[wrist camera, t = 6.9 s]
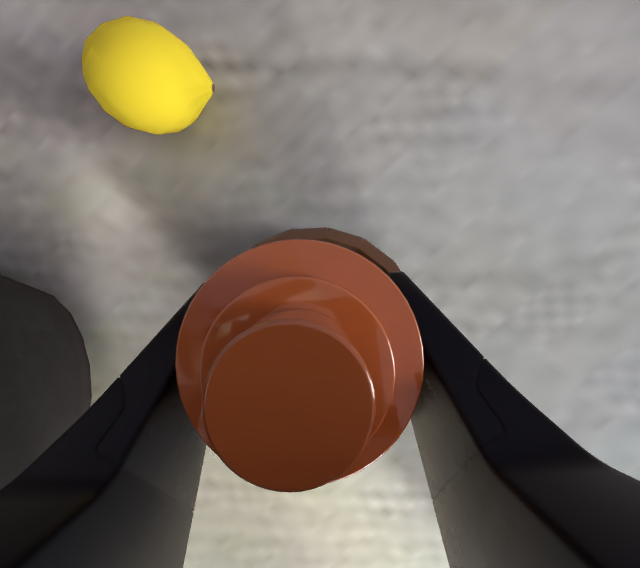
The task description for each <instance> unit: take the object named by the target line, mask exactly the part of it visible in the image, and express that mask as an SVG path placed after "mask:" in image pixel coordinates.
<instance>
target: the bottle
mask: <svg viewBox="0 0 640 568" xmlns="http://www.w3.org/2000/svg"><path fill="white" fill-rule="evenodd" d="M175 367H176V378H177V385H178V389H179V393H180V398H181V400H182V403H183V406H184V409H185V411H186V414H187V415H188V417H189V419H190V421H191V423H192V425H193V427H194V428H195V430H196V431H197V433H198V434H199V435H200V437H201V438H202V440H203V441H204V442H205V443H206V444H207V445H208V446H209V447H210V448H211V450H212V451H213V452H214V453H216V454H217V455H218V456H219V457H220V459H221V460H222V461H223V462H224V463H225V465H226V466H227V467H228V468H229V469H230V470H232V471H233V472H234V473H235V474H236V475H238V476H239V477H241V478H242V479H244V480H245V481H247V482H249V483H251V484H254V485H256V486H258V487H261V488H264V489H267V490H273V491H278V492H301V491H306V490H311V489H314V488H317V487H320V486H323V485H325V484H327V483H330V482H334V481H337V480H340V479H343V478H346V477H349V476H351V475H353V474H355V473H357V472H359V471H361V470H363V469H364V468H366V467H367V466H369V465H370V464H372V463H373V462H375V461H376V460H377V459H378V458H379V457H381V456H382V455H383V454H384V453H385V452H386V451H387V450H388V449H389V448H390V447H391V446H392V445H393V444H394V443H395V441H396V440H397V439H398V438H399V436H400V435H401V433H402V432H403V430H404V429H405V428H406V426H407V424H408V422H409V420H410V418H411V416H412V414H413V412H414V410H415V407H416V404H417V402H418V399H419V396H420V391H421V386H422V381H423V371H424V355H423V344H422V339H421V334H420V330H419V327H418V324H417V321H416V318H415V315H414V313H413V311H412V309H411V307H410V305H409V303H408V301H407V300H406V298H405V297H404V295H403V294H402V292H401V291H400V289H399V288H398V287H397V286H396V284H395V283H394V282H393V281H392V280H391V279H390V278H389V277H388V275H387V274H385V273H384V272H383V271H382V270H381V269H380V268H378V267H377V266H376V265H375V264H374V263H372V262H371V261H369V260H367V259H366V258H364V257H363V256H361V255H359V254H357V253H355V252H353V251H351V250H349V249H347V248H344V247H341V246H338V245H335V244H332V243H328V242H323V241H317V240H306V239H292V240H281V241H276V242H271V243H266V244H263V245H260V246H258V247H255V248H252V249H249V250H247V251H245V252H243V253H242V254H240V255H238V256H236V257H234V258H233V259H231V260H230V261H228V262H227V263H225V264H224V265H223V266H221V267H220V268H219V269H218V270H217V271H216V272H215V273H214V274H212V275H211V276H210V277H209V279H208V280H207V281H206V282H205V283H204V284H203V286H202V287H201V288H200V289H199V291H198V292H197V294H196V295H195V297H194V298H193V300H192V302H191V303H190V305H189V307H188V310H187V312H186V314H185V316H184V318H183V322H182V325H181V328H180V331H179V335H178V341H177V347H176V363H175Z"/></svg>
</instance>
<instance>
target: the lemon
mask: <svg viewBox="0 0 640 568" xmlns="http://www.w3.org/2000/svg"><path fill="white" fill-rule="evenodd" d="M81 59H82V65H83V76H84V79H85V81H86V84H87V86H88V88H89V91H90V92H91V94H92V95H93V96H94V97H95V98H96V100H97V101H98V102H99V104H100V105H101V107H102V108H103V110H105V111H106V112H107V113H108V114H110V115H111V116H113V117H114V118H115V119H117V120H118V121H119V122H120V123H122V124H123V125H124V126H127V127H130V128H133V129H137V130H141V131H145V132H149V133H153V134H157V135H160V134H167V133H174V132H180V131H181V130H183V129H185V128H186V127H188V126H189V125H191V124H192V123H194V122H195V121H196V120H197V118H198V116H199V115H200V113H201V111H202V110H203V108H204V107H205V105H206V103H207V102H208V100H209V99H210V97H211V96H212V94H213V93H214V84H213V82H212V81H211V79H210V77H209V76H208V74H207V73H206V71H205V69H204V68H203V66H202V65H201V63H200V62H199V61H198V59H197V58H196V56H195V55H194V54H193V52H192V51H191V49H190V48H189V47H188V46H187V45H186V44H185V43H183V42H182V41H181V40H180V39H178V38H177V37H176V36H174V35H173V34H172V33H170V32H169V31H168V30H167V29H165V28H164V27H162V26H161V25H159V24H157V23H156V22H152V21H148V20H144V19H139V18H135V17H130V16H125V17H122V18H118V19H115V20H112V21H109V22H105V23H102V24H101V25H100V26H99V27H98V28H97V29H96V30H95V31H94V32H93V33H92V34H91V35H90V36H89V37H88V38H87V39H86V40H85V44H84V49H83V53H82V58H81Z"/></svg>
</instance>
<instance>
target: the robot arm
mask: <svg viewBox="0 0 640 568" xmlns="http://www.w3.org/2000/svg"><path fill="white" fill-rule="evenodd" d="M388 277H389V278H390V279H391V280H392V281H393V282H394V283H395V284H396V286H397V287H398V288H399V289H400V291H401V292H402V294H403V295H404V297H405V298H406V300H407V301H408V303H409V305H410V307H411V309H412V311H413V313H414V315H415V318H416V321H417V324H418V327H419V330H420V334H421V339H422V344H423V355H424V371H423V381H422V386H421V391H420V396H419V399H418V402H417V404H416V407H415V410H414V412H413V414H412V416H411V421H412V425H413V429H414V433H415V437H416V440H417V444H418V448H419V452H420V456H421V459H422V463H423V467H424V471H425V475H426V478H427V482H428V486H429V490H430V494H431V497H432V499H433V505H434V509H435V513H436V517H437V521H438V524H439V528H440V532H441V536H442V539H443V543H444V547H445V551H446V555H447V558H448V562H449V566H450V568H640V481H639V480H636V479H634V478H632V477H630V476H628V475H626V474H624V473H622V472H620V471H618V470H616V469H614V468H612V467H610V466H608V465H607V464H605V463H603V462H602V461H600V460H599V459H597V458H596V457H594V456H593V455H591V454H590V453H589V452H587V451H586V450H585V449H583V448H582V447H581V446H580V445H579V444H577V443H576V442H575V441H574V440H573V439H572V438H570V437H569V436H568V435H567V434H566V433H565V432H564V431H562V430H561V429H560V428H559V427H558V426H557V425H556V424H555V423H553V422H552V421H551V420H550V419H549V418H548V417H547V416H545V415H544V414H543V413H542V412H541V411H540V410H539V409H537V408H536V407H535V406H534V405H533V404H532V403H531V402H529V401H528V400H527V399H526V398H525V397H524V396H523V395H522V394H521V393H520V392H519V391H517V390H516V389H515V388H514V387H513V386H512V385H511V384H510V383H509V382H508V381H507V380H506V379H505V378H504V377H503V376H502V375H501V374H500V373H499V372H498V371H497V370H496V369H495V368H494V367H493V366H492V365H491V364H490V363H489V362H488V360H487V359H483V358H484V357H483V355H482V354H481V353H480V352H479V351H478V350H477V349H476V348H475V347H474V346H473V345H472V344H471V343H470V342H469V341H468V340H467V338H466V337H465V336H464V335H463V334H462V333H461V332H460V331H459V330H458V329H457V328H456V327H455V326H454V325H453V324H452V323H451V322H450V321H449V320H448V318H447V317H446V316H445V315H444V314H443V313H442V312H441V311H440V310H439V309H438V308H437V307H436V306H435V305H434V304H433V303H432V302H431V301H430V299H429V298H428V297H427V296H426V295H425V294H424V293H423V292H422V291H421V290H420V289H419V288H418V287H417V286H416V285H415V284H414V283H413V282H412V281H411V279H410V278H409V277H408V276H407V275H406V274H405V273H404V272H402V271H397V272H389V273H388ZM204 283H205V282H204ZM204 283H203V284H204ZM203 284H202V285H201V286H200V287H199V288H198V290H197V291H196V292H195V293H194V294H193V295H192V296H191V297H190V298H189V300H188V301H187V302H186V303H185V304H184V305H183V306H182V307H181V308H180V309H179V311H178V312H177V313H176V314H175V315H174V316H173V317H172V318H171V319H170V321H169V322H168V323H167V324H166V325H165V326H164V327H163V328H162V329H161V331H160V332H159V333H158V334H157V335H156V336H155V337H154V338H153V339H152V340H151V342H150V343H149V344H148V345H147V346H146V347H145V348H144V349H143V350H142V352H141V353H140V354H139V355H138V356H137V357H136V358H135V359H134V360H133V362H132V363H131V364H130V365H129V366H128V367H127V368H126V369H125V370H124V372H123V373H122V374H121V375H120V378H117V379H116V380H115V381H114V382H113V384H112V385H111V386H110V387H109V388H108V389H107V390H106V391H105V392H104V393H103V394H102V395H101V397H100V398H99V399H98V400H97V401H96V402H95V403H94V404H93V405H92V406H91V407H90V408H89V409H88V410H87V411H86V412H85V413H84V414H83V415H82V416H81V417H80V418H79V419H78V420H77V421H76V422H75V423H74V424H73V425H72V426H71V427H70V428H69V429H68V430H67V431H65V432H64V433H63V434H62V435H61V436H60V437H59V438H58V439H57V440H56V441H55V442H54V443H53V444H52V445H51V446H50V447H49V448H47V449H46V450H45V451H44V452H43V453H42V454H41V455H40V456H39V457H38V458H37V459H36V460H35V461H34V462H33V463H32V464H31V465H30V466H28V467H27V468H26V469H25V470H24V471H23V472H22V473H21V474H20V475H19V476H17V477H16V478H15V479H14V480H13V481H11V482H10V483H9V484H8V485H6V486H5V487H4V488H2V489H1V490H0V568H183V564H184V559H185V553H186V548H187V543H188V538H189V533H190V528H191V522H192V517H193V511H194V506H195V501H196V496H197V491H198V486H199V481H200V475H201V470H202V465H203V460H204V455H205V450H206V445H207V444H206V443H205V442H204V441H203V440H202V438H201V437H200V435H199V434H198V433H197V431H196V430H195V428H194V427H193V425H192V423H191V421H190V419H189V417H188V415H187V414H186V411H185V409H184V406H183V403H182V400H181V398H180V393H179V389H178V385H177V378H176V367H175V363H176V347H177V341H178V335H179V331H180V328H181V325H182V322H183V318H184V316H185V314H186V312H187V310H188V307H189V305H190V303H191V302H192V300H193V298H194V297H195V295H196V294H197V292H198V291H199V289H200V288H201V287H202V286H203Z"/></svg>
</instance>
